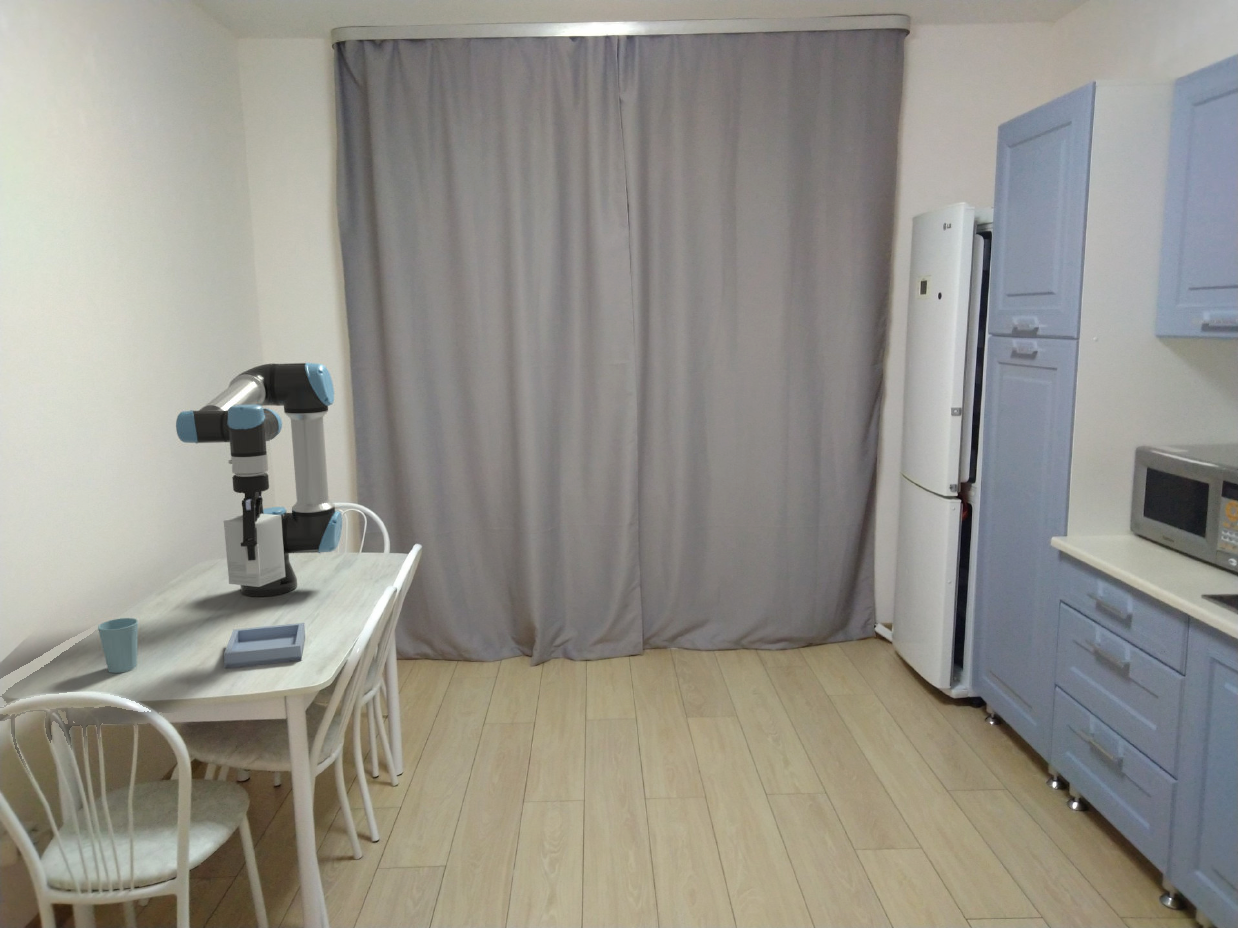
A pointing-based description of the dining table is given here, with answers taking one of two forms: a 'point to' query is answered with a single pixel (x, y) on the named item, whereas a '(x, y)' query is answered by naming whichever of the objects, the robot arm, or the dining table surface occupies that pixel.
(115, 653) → the cup
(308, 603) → the dining table surface
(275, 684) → the dining table surface
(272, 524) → the supplement box
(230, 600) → the dining table surface
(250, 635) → the bin
